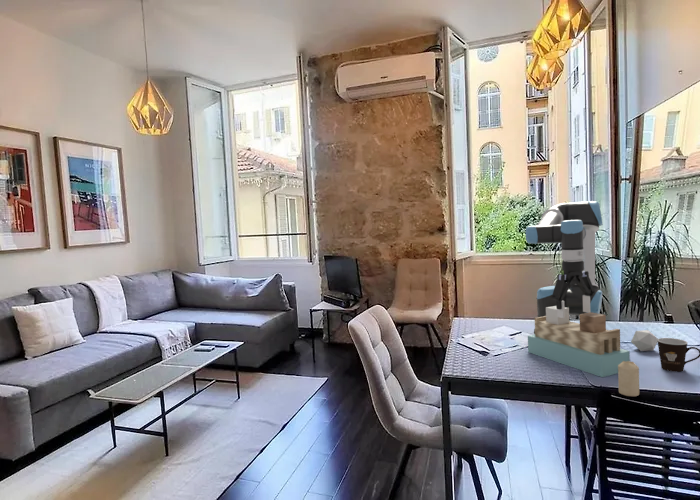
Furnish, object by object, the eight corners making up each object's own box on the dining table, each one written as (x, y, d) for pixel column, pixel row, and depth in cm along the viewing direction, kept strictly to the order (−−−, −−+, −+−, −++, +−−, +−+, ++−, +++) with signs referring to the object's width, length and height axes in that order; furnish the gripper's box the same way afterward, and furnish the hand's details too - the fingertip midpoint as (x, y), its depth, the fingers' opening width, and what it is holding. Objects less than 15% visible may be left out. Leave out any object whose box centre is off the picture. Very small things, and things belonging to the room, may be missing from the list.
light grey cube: (546, 321, 177) (545, 307, 177) (557, 319, 180) (556, 305, 179) (558, 324, 172) (557, 309, 171) (569, 322, 174) (568, 307, 174)
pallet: (535, 336, 181) (534, 317, 180) (553, 332, 184) (552, 314, 184) (600, 355, 153) (600, 333, 152) (620, 350, 157) (620, 329, 156)
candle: (631, 398, 133) (631, 366, 133) (614, 392, 138) (614, 361, 138) (643, 394, 135) (642, 362, 135) (626, 388, 140) (625, 358, 140)
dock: (528, 352, 182) (527, 335, 182) (553, 346, 187) (552, 330, 187) (602, 377, 151) (601, 357, 150) (629, 370, 156) (629, 350, 156)
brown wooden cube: (579, 330, 163) (579, 314, 162) (591, 327, 165) (591, 312, 164) (594, 333, 157) (593, 317, 157) (605, 331, 159) (605, 315, 159)
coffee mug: (652, 367, 157) (651, 340, 156) (667, 363, 160) (666, 336, 160) (687, 377, 146) (687, 348, 146) (703, 372, 150) (702, 344, 149)
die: (658, 355, 171) (665, 334, 173) (636, 345, 172) (644, 323, 175) (644, 357, 179) (651, 336, 181) (624, 347, 180) (631, 326, 182)
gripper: (556, 264, 158) (558, 321, 160) (604, 257, 168) (605, 311, 169) (540, 262, 165) (542, 317, 167) (587, 256, 175) (588, 308, 176)
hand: (574, 314), depth 168 cm, fingers open, 13 cm apart
